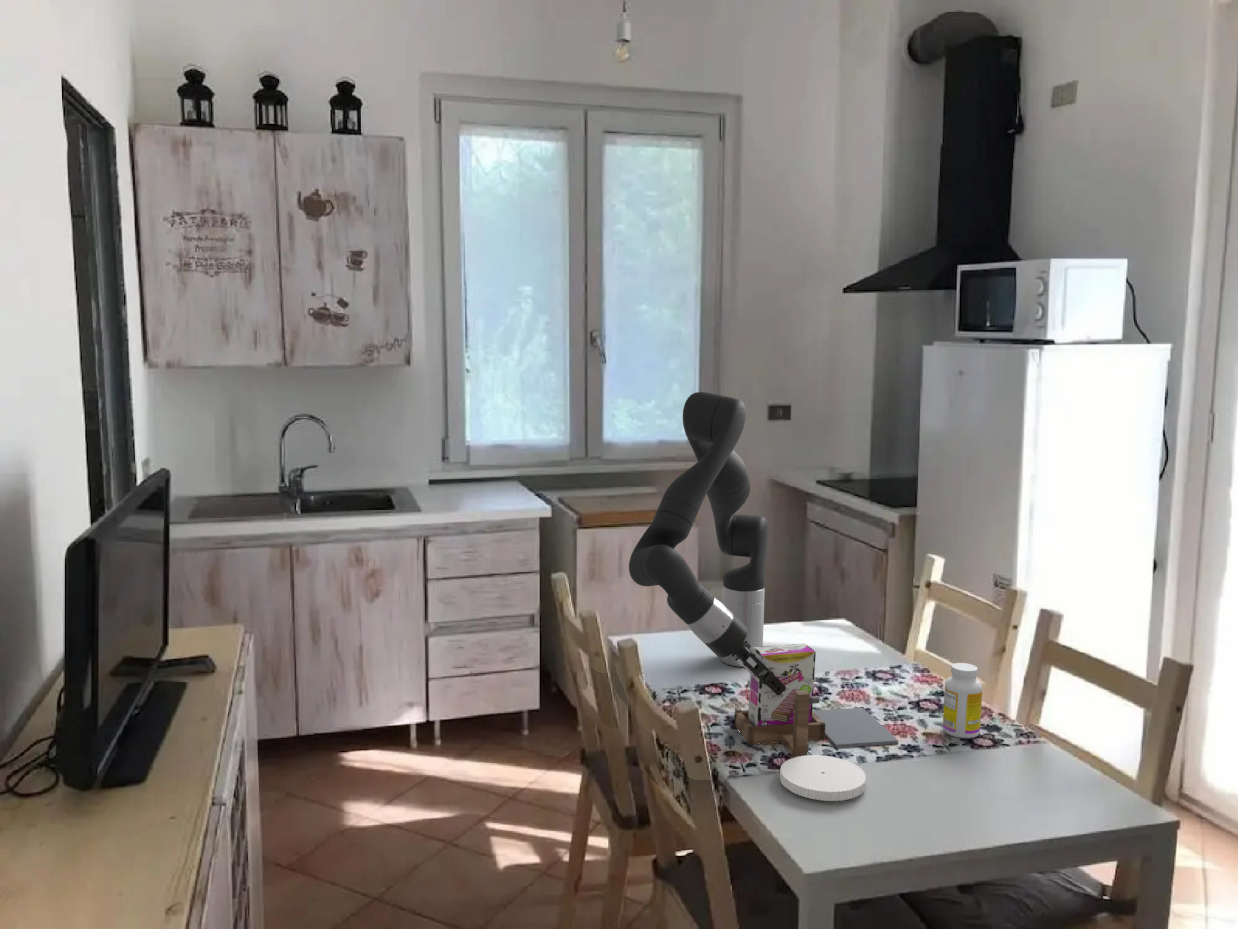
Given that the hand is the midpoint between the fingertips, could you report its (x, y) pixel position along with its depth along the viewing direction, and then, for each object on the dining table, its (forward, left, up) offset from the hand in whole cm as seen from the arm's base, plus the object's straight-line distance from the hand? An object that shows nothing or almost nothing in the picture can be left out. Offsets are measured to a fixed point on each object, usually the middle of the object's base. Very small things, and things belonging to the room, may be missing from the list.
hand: (774, 683), depth 192 cm
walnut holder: (0, +1, -10) cm, 10 cm away
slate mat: (0, +15, -10) cm, 18 cm away
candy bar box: (0, +1, -10) cm, 10 cm away
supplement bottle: (+5, +35, -10) cm, 37 cm away
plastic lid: (+22, +1, -10) cm, 24 cm away
